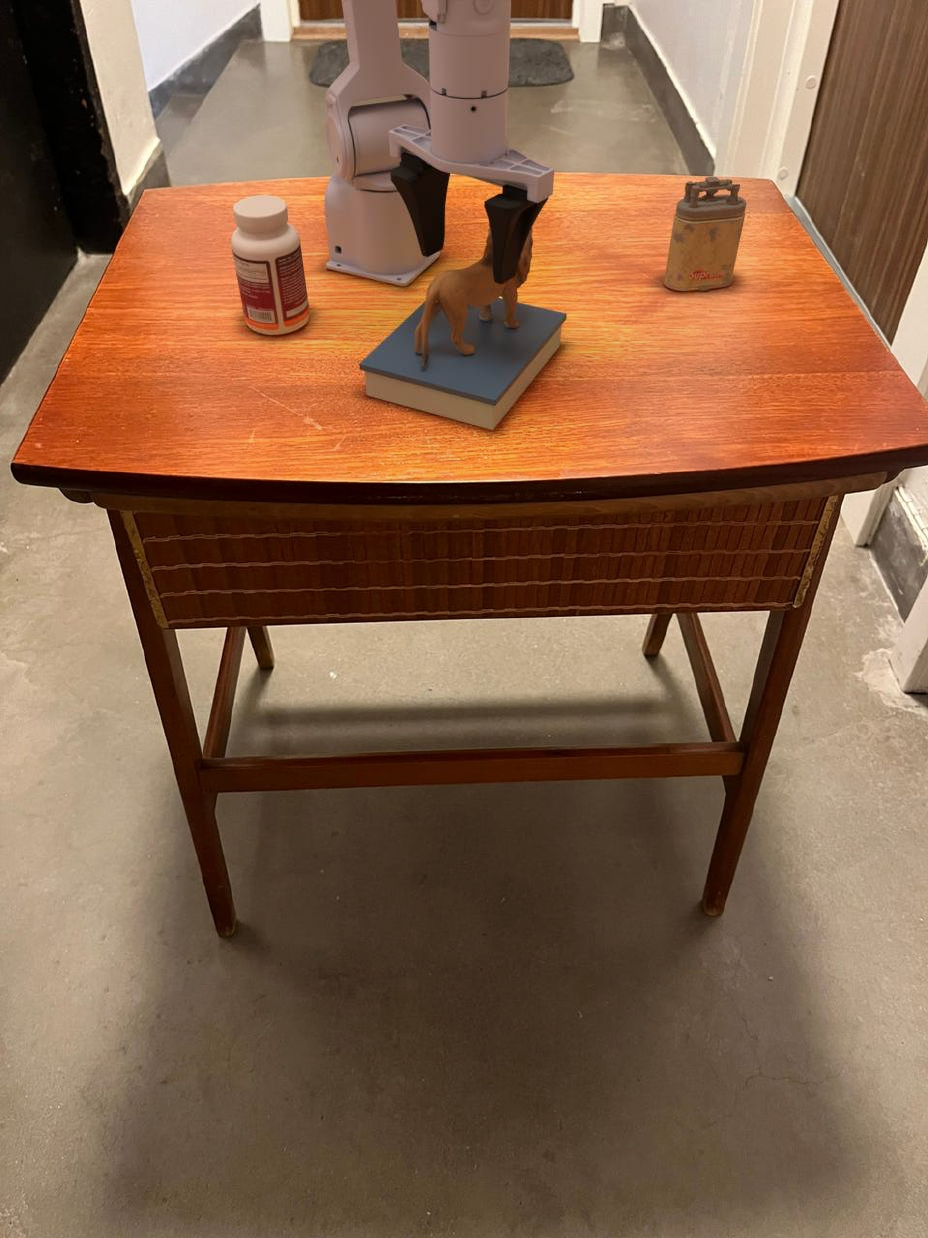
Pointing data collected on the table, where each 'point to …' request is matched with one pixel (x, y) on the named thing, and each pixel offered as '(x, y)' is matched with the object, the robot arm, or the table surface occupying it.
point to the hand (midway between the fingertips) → (468, 265)
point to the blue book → (465, 363)
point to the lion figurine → (470, 297)
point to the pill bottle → (269, 266)
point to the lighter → (705, 236)
